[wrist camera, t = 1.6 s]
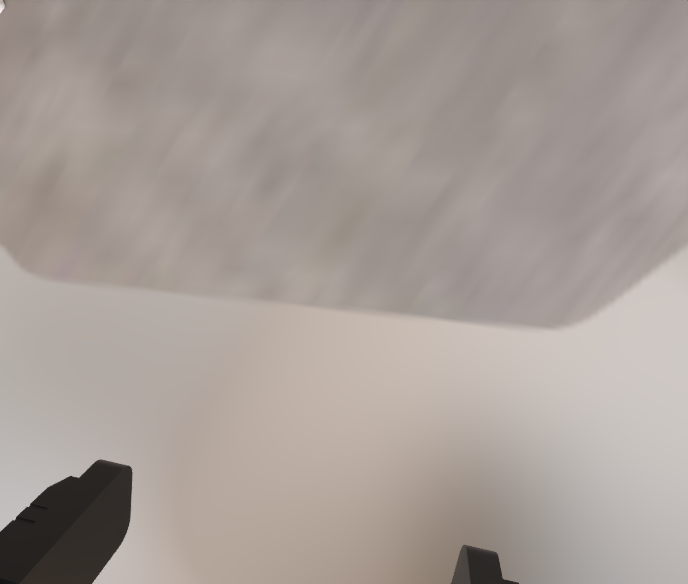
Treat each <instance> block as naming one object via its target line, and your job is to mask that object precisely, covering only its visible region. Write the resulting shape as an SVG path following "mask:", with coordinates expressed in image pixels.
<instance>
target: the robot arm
mask: <svg viewBox="0 0 688 584" xmlns="http://www.w3.org/2000/svg"><path fill="white" fill-rule="evenodd" d="M131 493H132V469H131V467H130V466H126V465H122V464H118V463H114V462H109V461H105V460H98V461H96V462H95V463H94V464H93V465H92V466H91V467H90V468H89V469H88V470H87V471H86V472H85V473H84V474H83V475H82V476H81V477H80V478H77V477H72V476H69V477H67V478H66V479H64V480H62V481H60V482H58V483H56V484H54V485H52V486H50V487H48V488H47V489H46V490H45V491H44V492H42V493H41V494H40V495H39V496H38V497H37V498H36V499H35V500H34V501H33V502H32V503H31V504H30V506H29V507H26V508H25V509H24V510H23V511H22V512H21V513H20V514H19V515H18V516H17V517H16V519H15V521H14V520H13V521H11V522H10V523H9V524H8V525H7V526H6V527H5V528H4V529H3V530H2V531H1V532H0V584H92V583H93V582H94V580H95V579H96V577H97V576H98V575H99V573H100V572H101V571H102V569H103V568H104V567H105V565H106V564H107V562H108V561H109V560H110V559H111V557H112V556H113V554H114V553H115V552H116V550H117V549H118V548H119V546H120V545H121V543H122V541H123V539H124V537H125V535H126V533H127V530H128V526H129V522H130V514H131ZM451 584H519V583H517V582H513V581H508V580H504V579H503V578H502V573H501V568H500V562H499V558H498V555H497V553H496V552H493V551H489V550H484V549H480V548H476V547H472V546H467V545H463V546H462V548H461V551H460V554H459V558H458V562H457V565H456V569H455V572H454V576H453V579H452V583H451Z"/></svg>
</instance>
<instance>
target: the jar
mask: <svg viewBox="0 0 688 584" xmlns="http://www.w3.org/2000/svg"><path fill="white" fill-rule="evenodd" d="M4 8H5V4H4V1H3V0H0V13H1V12H2V11H3V9H4Z"/></svg>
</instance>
